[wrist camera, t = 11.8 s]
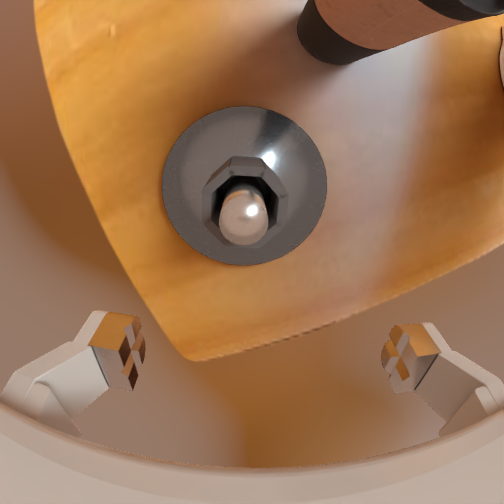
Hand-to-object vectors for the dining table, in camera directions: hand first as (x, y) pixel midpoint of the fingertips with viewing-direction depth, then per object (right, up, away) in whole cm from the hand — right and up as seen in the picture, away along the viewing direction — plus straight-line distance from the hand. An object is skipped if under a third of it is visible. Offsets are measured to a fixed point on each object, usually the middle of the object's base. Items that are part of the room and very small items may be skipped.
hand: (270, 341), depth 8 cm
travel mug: (+7, +24, +12) cm, 28 cm away
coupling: (-1, +9, +18) cm, 20 cm away
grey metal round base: (-1, +9, +19) cm, 21 cm away
